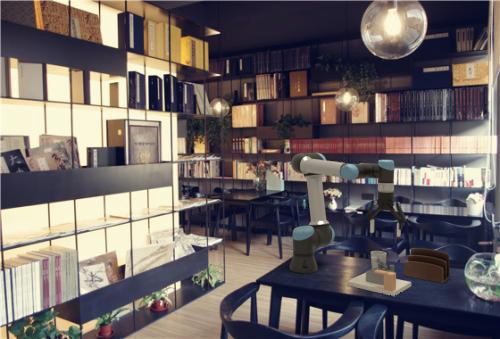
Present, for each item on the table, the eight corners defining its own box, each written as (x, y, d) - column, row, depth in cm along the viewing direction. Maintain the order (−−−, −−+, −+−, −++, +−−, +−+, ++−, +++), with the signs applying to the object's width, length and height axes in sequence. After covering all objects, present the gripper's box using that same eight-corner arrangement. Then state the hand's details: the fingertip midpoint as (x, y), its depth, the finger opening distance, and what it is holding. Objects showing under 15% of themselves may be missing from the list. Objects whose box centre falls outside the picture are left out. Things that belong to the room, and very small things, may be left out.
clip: (373, 287, 201) (373, 271, 201) (377, 285, 204) (377, 269, 204) (392, 291, 195) (392, 274, 195) (395, 289, 198) (396, 272, 198)
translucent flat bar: (370, 257, 206) (370, 255, 206) (382, 268, 216) (383, 265, 216) (377, 259, 203) (377, 256, 204) (389, 269, 214) (390, 267, 214)
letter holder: (411, 271, 233) (411, 246, 232) (449, 279, 219) (450, 251, 219) (403, 276, 225) (403, 249, 224) (443, 283, 212) (443, 255, 211)
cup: (387, 277, 222) (387, 254, 221) (371, 277, 223) (371, 254, 223) (385, 273, 229) (385, 251, 229) (370, 272, 231) (370, 250, 230)
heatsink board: (347, 285, 211) (347, 267, 210) (365, 276, 225) (366, 259, 224) (394, 296, 194) (394, 276, 194) (411, 286, 208) (411, 267, 208)
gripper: (358, 190, 216) (358, 232, 217) (408, 194, 200) (407, 239, 201) (365, 189, 222) (365, 229, 223) (414, 192, 206) (413, 236, 207)
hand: (385, 234), depth 212 cm, fingers open, 13 cm apart
